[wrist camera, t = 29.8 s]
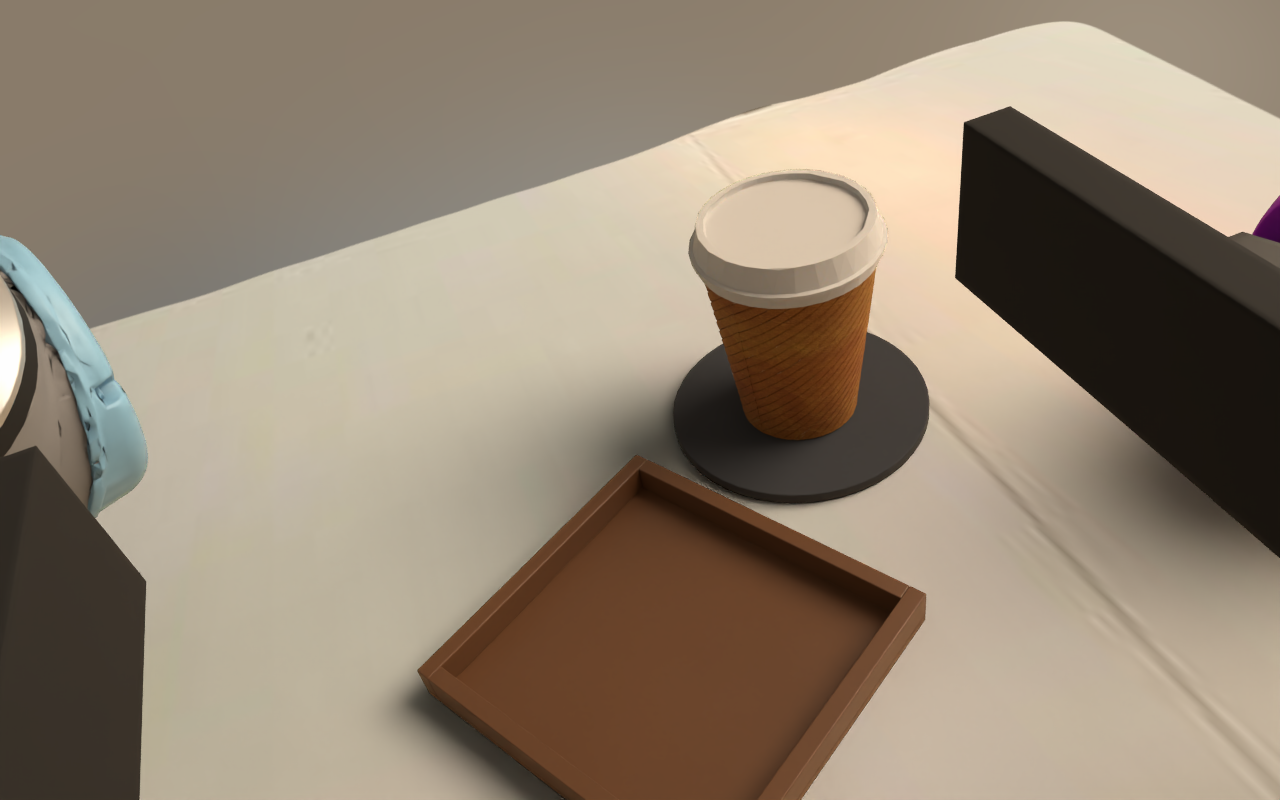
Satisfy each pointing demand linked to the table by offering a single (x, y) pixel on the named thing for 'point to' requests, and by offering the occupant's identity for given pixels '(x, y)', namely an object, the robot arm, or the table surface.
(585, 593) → the tray
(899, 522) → the table surface
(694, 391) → the coaster
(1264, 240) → the robot arm
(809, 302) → the disposable coffee cup
